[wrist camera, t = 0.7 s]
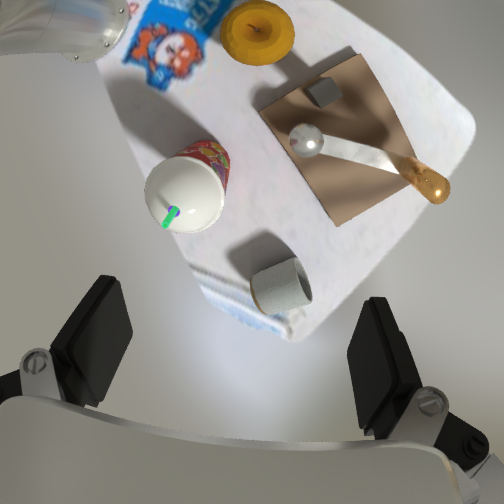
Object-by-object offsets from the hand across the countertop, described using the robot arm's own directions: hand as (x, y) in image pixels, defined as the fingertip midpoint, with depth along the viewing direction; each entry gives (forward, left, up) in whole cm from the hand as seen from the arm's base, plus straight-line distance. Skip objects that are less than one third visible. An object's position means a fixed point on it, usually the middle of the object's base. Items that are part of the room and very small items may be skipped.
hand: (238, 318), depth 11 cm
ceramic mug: (+21, -10, -34) cm, 41 cm away
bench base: (+7, +10, -33) cm, 36 cm away
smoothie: (-2, -8, -34) cm, 34 cm away
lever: (+7, +10, -29) cm, 32 cm away
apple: (-12, +8, -34) cm, 37 cm away
